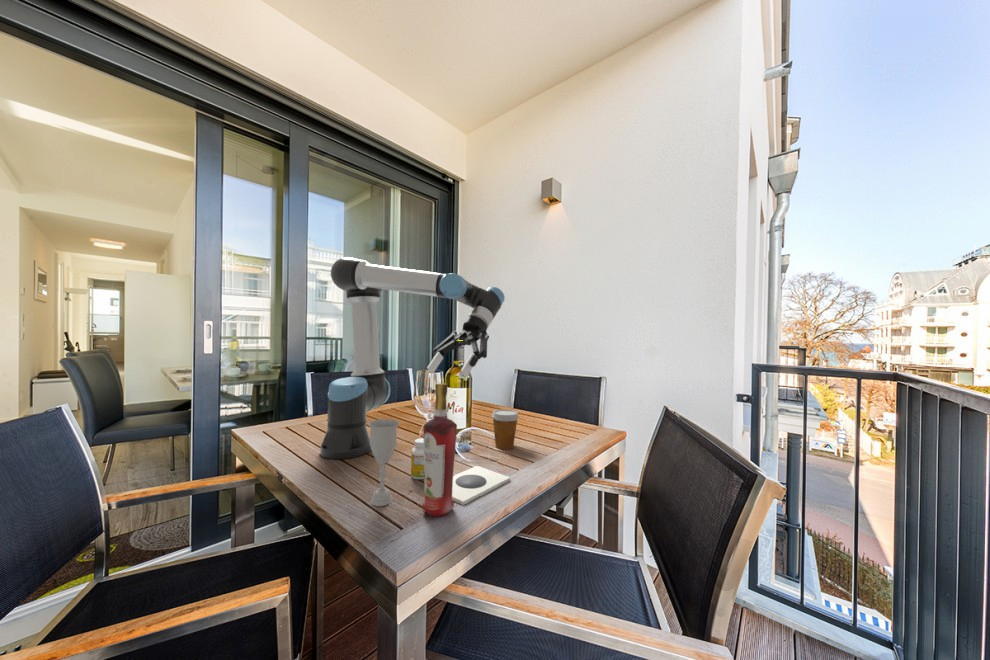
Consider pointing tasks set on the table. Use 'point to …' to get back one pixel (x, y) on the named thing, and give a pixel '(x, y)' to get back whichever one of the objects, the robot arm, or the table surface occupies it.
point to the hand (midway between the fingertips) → (446, 372)
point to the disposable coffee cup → (504, 428)
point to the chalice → (382, 454)
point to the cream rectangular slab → (475, 483)
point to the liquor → (439, 457)
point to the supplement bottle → (418, 459)
